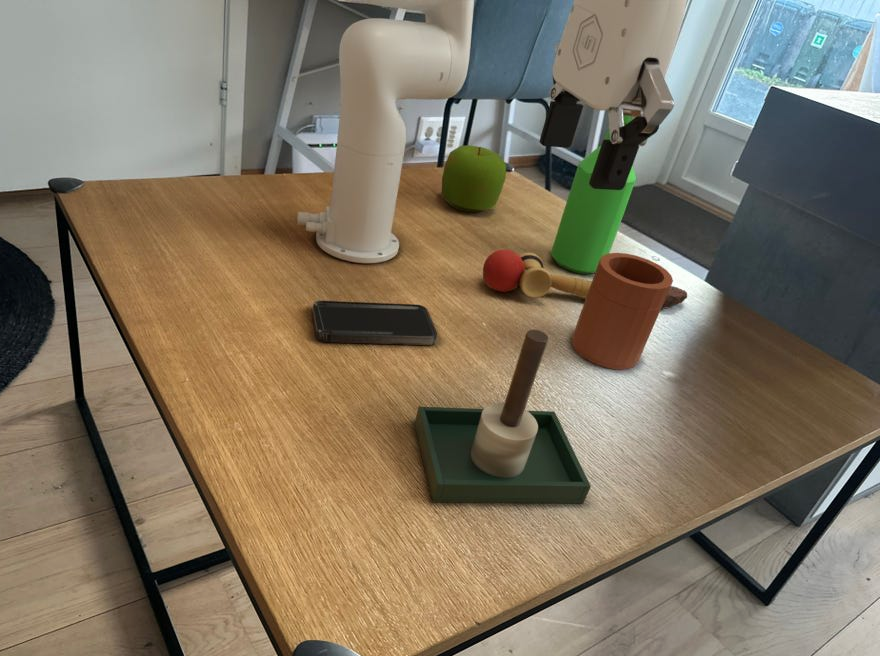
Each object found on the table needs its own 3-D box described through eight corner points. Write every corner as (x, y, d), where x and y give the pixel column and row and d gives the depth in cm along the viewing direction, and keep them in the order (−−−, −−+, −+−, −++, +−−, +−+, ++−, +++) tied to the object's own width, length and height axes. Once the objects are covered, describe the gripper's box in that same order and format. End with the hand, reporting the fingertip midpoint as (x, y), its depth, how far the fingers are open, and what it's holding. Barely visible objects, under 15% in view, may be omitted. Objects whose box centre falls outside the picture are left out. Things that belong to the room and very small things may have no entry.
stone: (632, 301, 106) (640, 283, 105) (644, 285, 112) (652, 268, 110) (675, 319, 104) (683, 300, 102) (685, 301, 110) (693, 284, 108)
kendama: (583, 292, 109) (474, 264, 105) (603, 261, 105) (491, 230, 101) (592, 326, 104) (478, 297, 100) (614, 294, 99) (495, 263, 96)
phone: (312, 300, 89) (425, 304, 93) (311, 307, 90) (424, 311, 94) (318, 334, 83) (439, 338, 87) (317, 342, 84) (437, 345, 88)
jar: (585, 367, 89) (616, 285, 82) (562, 329, 96) (589, 250, 90) (649, 371, 91) (685, 290, 84) (622, 332, 98) (653, 255, 91)
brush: (477, 477, 69) (516, 351, 60) (465, 438, 73) (500, 316, 65) (531, 478, 70) (577, 355, 61) (516, 440, 74) (556, 320, 66)
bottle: (603, 281, 111) (662, 122, 97) (549, 268, 111) (599, 108, 97) (601, 258, 118) (656, 107, 104) (550, 246, 119) (597, 94, 104)
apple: (505, 219, 125) (521, 160, 119) (447, 216, 122) (461, 155, 116) (485, 194, 134) (498, 138, 127) (431, 191, 131) (442, 132, 125)
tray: (433, 502, 66) (437, 484, 64) (414, 423, 75) (418, 406, 73) (583, 503, 69) (591, 486, 67) (548, 427, 78) (554, 411, 76)
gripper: (554, -75, 59) (503, 129, 68) (672, -40, 46) (588, 205, 55) (630, -60, 61) (570, 134, 71) (763, -24, 48) (667, 209, 58)
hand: (578, 165), depth 63 cm, fingers open, 9 cm apart
